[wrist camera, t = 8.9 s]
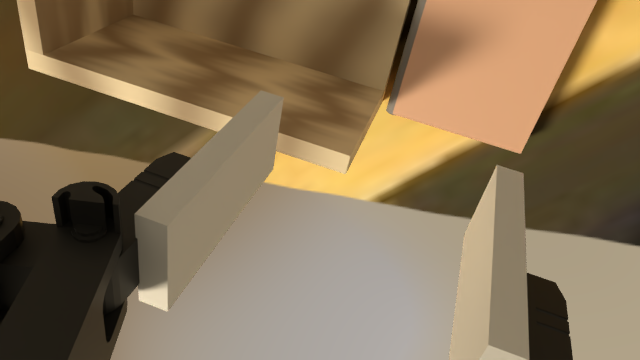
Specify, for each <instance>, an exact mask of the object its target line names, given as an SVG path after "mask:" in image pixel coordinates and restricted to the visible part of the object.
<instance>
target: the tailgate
mask: <svg viewBox="0 0 640 360" xmlns="http://www.w3.org/2000/svg"><path fill="white" fill-rule="evenodd" d="M596 2H597V0H418V3H417V6H416V9H415V13H414V16H413V20H412V23H411V27H410V30H409V34H408V37H407V40H406V44H405V47H404V51H403V54H402V58H401V61H400V65H399V68H398V71H397V75H396V78H395V82H394V85H393V89H392V92H391V95H390V99H389V102H388V106H387V109H386V111H387V112H388V113H390V114H392V115H397V116H401V117H404V118H407V119H410V120H413V121H417V122H420V123H423V124H426V125H430V126H433V127H436V128H439V129H442V130H446V131H449V132H452V133H455V134H459V135H462V136H465V137H468V138H471V139H475V140H478V141H481V142H484V143H488V144H491V145H494V146H497V147H500V148H504V149H507V150H510V151H513V152H516V153H520V154H521V152H522V150H523V148H524V146H525V144H526V142H527V140H528V138H529V136H530V134H531V132H532V130H533V128H534V126H535V124H536V122H537V120H538V118H539V116H540V114H541V112H542V110H543V108H544V106H545V104H546V102H547V100H548V98H549V96H550V94H551V92H552V90H553V88H554V86H555V84H556V82H557V80H558V78H559V76H560V74H561V72H562V70H563V68H564V66H565V64H566V62H567V60H568V58H569V56H570V54H571V52H572V50H573V48H574V46H575V44H576V42H577V40H578V38H579V36H580V34H581V32H582V30H583V28H584V26H585V24H586V22H587V20H588V18H589V16H590V14H591V12H592V10H593V8H594V6H595V4H596Z"/></svg>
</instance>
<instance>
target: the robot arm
mask: <svg viewBox="0 0 640 360" xmlns="http://www.w3.org/2000/svg"><path fill="white" fill-rule="evenodd" d="M283 100H284V97H281V96H278V95H274V94H271V93H268V92H265V91H262V90H261V91H260V92H259V93H258V94H257V95H256V96H255V97H254V98H253V99H252V100H250V101H249V102H248V103H247V104H246V105H245V106H244V107H243V108H242V109H241V110H240V111H239V112H238V113H237V114H236V115H235V116H234V117H233V118H232V119H231V120H230V121H229V122H228V123H227V124H226V125H225V126H224V127H223V128H222V129H221V130H220V131H219V132H218V133H217V134H216V135H215V136H214V137H213V138H212V139H211V140H210V141H208V142H207V143H206V144H205V145H204V146H203V147H202V148H201V149H200V150H199V151H198V152H197V153H196V154H195V155H194V156H193V157H192V158H190V157H187V156H184V155H181V154H178V153H175V152H173V153H170V154H168V155H165V156H163V157H160V158H158V159H156V160H155V161H154V162H152V163H151V164H150V165H149V166H148V167H147V168H146V169H145V170H144V172H141V173H140V174H139V175H138V176H137V177H135V179H134V181H131V182H130V183H129V184H128V185H126V187H124V188H123V189H122V190H121V191H120V192H119V193H117V191H116V190H115V189H114V188H112V187H110V186H109V185H107V184H103V183H99V182H80V183H74V184H70V185H68V186H66V187H64V188H62V189H60V190H58V191H57V192H56V193H55V194H54V195H53V196H52V202H53V208H54V214H55V219H56V224H47V223H38V222H27V221H22V218H21V214H20V212H19V210H18V209H17V207H16V206H14V205H12V204H10V203H8V202H4V201H0V360H110V358H111V355H112V352H113V350H114V347H115V344H116V341H117V338H118V335H119V332H120V329H121V326H122V324H123V321H124V318H125V315H126V312H127V297H128V296H129V295H130V294H131V293H132V291H133V290H134V289H135V288H136V287H137V286H138V292H139V301H142V302H144V303H147V304H149V305H152V306H154V307H157V308H159V309H162V310H164V311H167V312H168V311H169V309H170V308H171V307H172V305H173V304H174V302H175V301H176V300H177V298H178V297H179V296H180V294H181V293H182V292H183V290H184V289H185V288H186V286H187V285H188V284H189V282H190V281H191V279H192V278H193V277H194V275H195V274H196V273H197V271H198V270H199V269H200V267H201V266H202V265H203V263H204V262H205V260H206V259H207V258H208V256H209V255H210V254H211V252H212V251H213V250H214V248H215V247H216V245H217V244H218V243H219V242H220V240H221V239H222V237H223V236H224V235H225V233H226V232H227V231H228V229H229V228H230V226H231V225H232V224H233V223H234V221H235V220H236V218H237V217H238V216H239V214H240V213H241V212H242V210H243V209H244V208H245V206H246V205H247V204H248V202H249V201H250V200H251V198H252V197H253V195H254V194H255V193H256V191H257V190H258V189H259V187H260V186H261V185H262V183H263V182H264V181H265V179H266V178H267V177H268V175H269V174H270V172H271V171H272V170H273V166H274V159H275V152H276V146H277V139H278V133H279V126H280V119H281V113H282V106H283ZM526 270H527V269H526V238H525V208H524V177H523V173H520V172H517V171H514V170H511V169H508V168H505V167H501V166H498V165H497V166H496V168H495V171H494V173H493V175H492V177H491V179H490V181H489V183H488V185H487V187H486V190H485V192H484V194H483V196H482V198H481V200H480V202H479V204H478V206H477V209H476V211H475V213H474V215H473V217H472V219H471V221H470V224H469V226H468V228H467V230H466V232H465V234H464V241H463V249H462V257H461V266H460V273H459V281H458V290H457V298H456V306H455V314H454V322H453V330H452V338H451V346H450V354H449V360H573V357H572V349H571V340H570V337H569V333H570V331H569V322H567V320H568V314H567V305H566V300H565V298H564V297H563V295H562V293H561V291H560V290H559V288H558V286H557V284H556V283H555V282H552V281H549V280H546V279H543V278H541V277H538V276H535V275H532V274H529V273H527V271H526Z"/></svg>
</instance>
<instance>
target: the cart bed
mask: <svg viewBox="0 0 640 360" xmlns="http://www.w3.org/2000/svg"><path fill="white" fill-rule="evenodd" d="M410 3H411V0H17V4H18V10H19V16H20V21H21V27H22V33H23V38H24V44H25V50H26V55H27V61H28V67H29V69H32V70H35V71H38V72H41V73H44V74H47V75H50V76H53V77H56V78H59V79H62V80H65V81H68V82H71V83H74V84H77V85H80V86H83V87H86V88H89V89H92V90H95V91H98V92H101V93H104V94H107V95H110V96H113V97H116V98H119V99H122V100H125V101H128V102H131V103H134V104H137V105H140V106H143V107H146V108H149V109H152V110H155V111H158V112H161V113H164V114H167V115H170V116H173V117H176V118H179V119H182V120H185V121H188V122H191V123H194V124H197V125H200V126H203V127H206V128H209V129H212V130H215V131H218V132H219V131H220V130H221V129H222V128H223V127H224V126H225V125H226V124H227V123H228V122H229V121H230V120H231V119H232V118H233V117H234V116H235V115H236V114H237V113H238V112H239V111H240V110H241V109H242V108H243V107H244V106H245V105H246V104H247V103H248V102H249V101H250V100H252V99H253V98H254V97H255V96H256V95H257V94H258V93H259V92H260V91H261V90H262V91H265V92H268V93H271V94H274V95H278V96H281V97H284V100H283V106H282V113H281V119H280V126H279V133H278V139H277V146H276V151H277V152H280V153H283V154H286V155H289V156H292V157H295V158H298V159H301V160H304V161H307V162H310V163H313V164H316V165H319V166H322V167H325V168H328V169H331V170H334V171H337V172H340V173H343V174H346V173H347V171H348V169H349V167H350V165H351V163H352V161H353V159H354V157H355V155H356V153H357V151H358V149H359V147H360V145H361V143H362V141H363V139H364V137H365V135H366V133H367V131H368V129H369V127H370V125H371V123H372V121H373V119H374V117H375V115H376V113H377V111H378V109H379V107H380V105H381V103H382V101H383V98H384V95H385V91H386V88H387V84H388V81H389V77H390V73H391V70H392V66H393V63H394V59H395V56H396V52H397V49H398V45H399V42H400V38H401V34H402V31H403V27H404V24H405V20H406V17H407V13H408V10H409V6H410Z"/></svg>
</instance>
